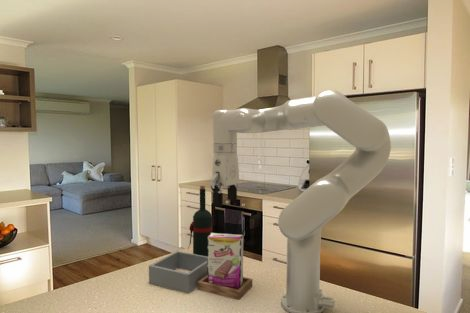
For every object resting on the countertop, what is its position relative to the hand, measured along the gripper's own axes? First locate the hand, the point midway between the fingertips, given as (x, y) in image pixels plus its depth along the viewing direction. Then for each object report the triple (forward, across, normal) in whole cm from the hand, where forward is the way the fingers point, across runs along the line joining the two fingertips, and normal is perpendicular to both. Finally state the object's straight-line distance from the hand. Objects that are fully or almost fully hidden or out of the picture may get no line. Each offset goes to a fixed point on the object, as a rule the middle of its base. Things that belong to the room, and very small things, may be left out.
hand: (225, 202), depth 108 cm
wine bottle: (+28, +16, +20) cm, 38 cm away
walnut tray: (+28, 0, 0) cm, 28 cm away
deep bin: (+28, 0, +17) cm, 33 cm away
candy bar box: (+27, 0, 0) cm, 27 cm away
